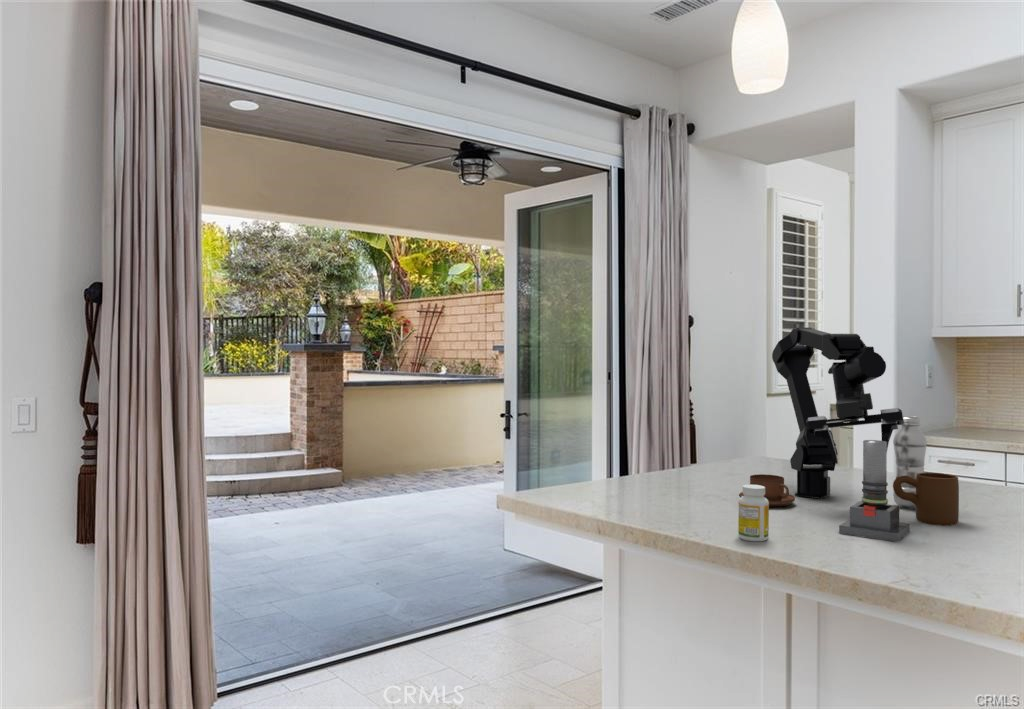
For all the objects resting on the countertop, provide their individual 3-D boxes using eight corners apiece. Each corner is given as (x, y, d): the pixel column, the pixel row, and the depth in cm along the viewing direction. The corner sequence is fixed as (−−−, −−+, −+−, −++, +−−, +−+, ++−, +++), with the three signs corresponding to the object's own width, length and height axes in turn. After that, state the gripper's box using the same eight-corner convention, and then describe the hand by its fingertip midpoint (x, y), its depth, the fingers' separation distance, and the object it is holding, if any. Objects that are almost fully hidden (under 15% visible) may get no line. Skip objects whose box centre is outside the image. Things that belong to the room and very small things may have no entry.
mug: (898, 524, 149) (898, 477, 149) (887, 515, 157) (888, 470, 157) (964, 527, 146) (964, 479, 146) (951, 518, 154) (951, 473, 154)
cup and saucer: (803, 503, 169) (803, 476, 169) (782, 512, 160) (782, 484, 160) (752, 496, 177) (753, 470, 177) (729, 504, 168) (730, 477, 168)
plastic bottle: (932, 511, 161) (932, 418, 160) (897, 510, 162) (898, 418, 162) (921, 505, 167) (922, 416, 167) (889, 504, 168) (889, 415, 168)
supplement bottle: (748, 542, 135) (748, 489, 135) (732, 535, 140) (732, 484, 140) (774, 540, 136) (775, 488, 136) (758, 533, 141) (758, 483, 141)
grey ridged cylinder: (859, 503, 142) (859, 441, 142) (865, 499, 145) (865, 439, 145) (884, 506, 139) (884, 443, 139) (890, 502, 142) (890, 441, 142)
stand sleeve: (839, 533, 142) (839, 504, 141) (854, 523, 149) (854, 496, 149) (896, 541, 135) (897, 511, 135) (909, 531, 143) (909, 502, 143)
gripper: (797, 388, 159) (807, 461, 155) (895, 375, 150) (908, 453, 146) (805, 397, 168) (815, 466, 164) (897, 386, 160) (910, 459, 155)
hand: (860, 461), depth 157 cm, fingers open, 9 cm apart
